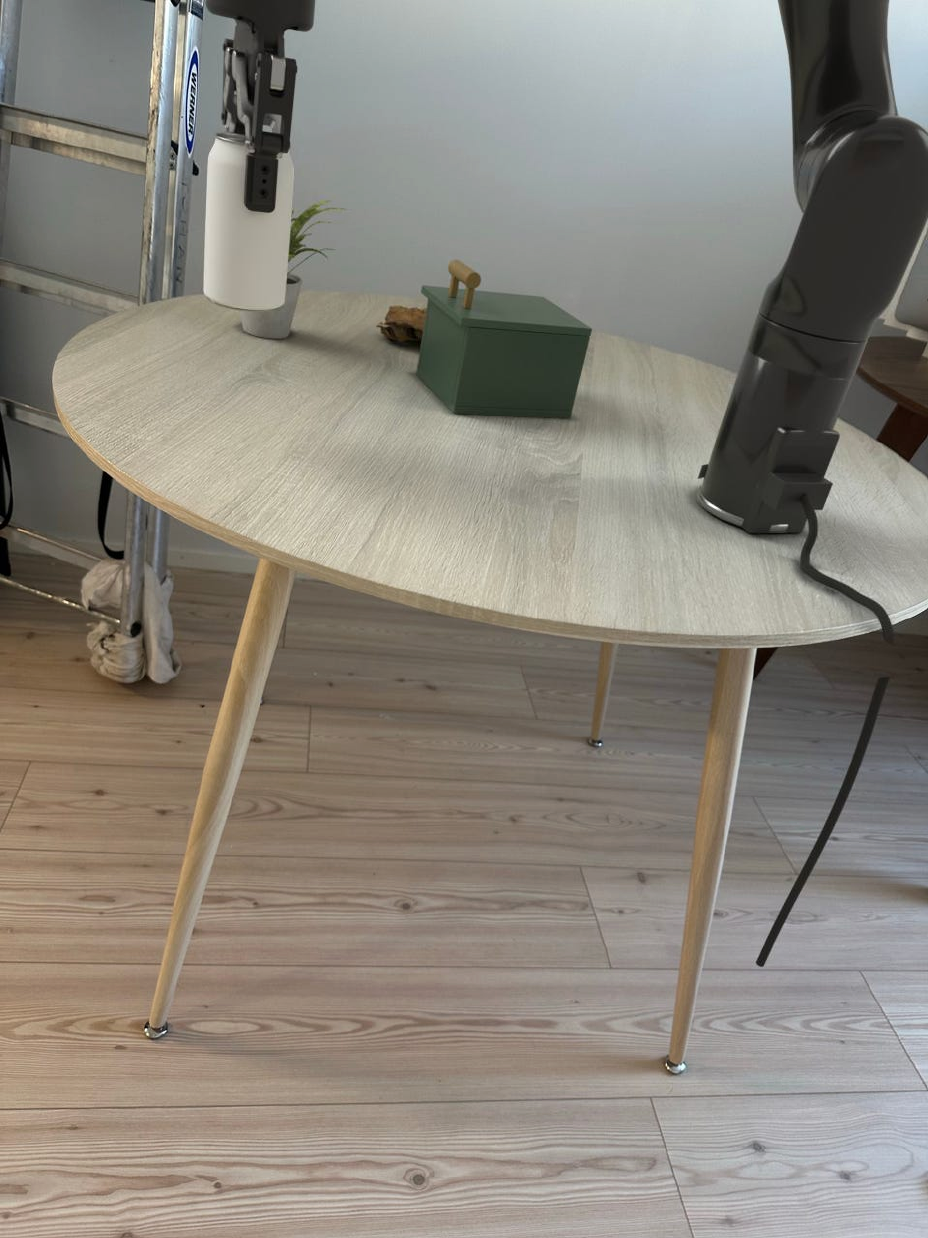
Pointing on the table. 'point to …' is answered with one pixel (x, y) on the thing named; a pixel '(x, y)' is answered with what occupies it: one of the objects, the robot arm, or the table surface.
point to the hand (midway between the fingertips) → (249, 200)
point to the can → (244, 233)
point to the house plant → (281, 319)
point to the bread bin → (500, 368)
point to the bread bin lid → (499, 307)
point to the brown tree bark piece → (403, 323)
